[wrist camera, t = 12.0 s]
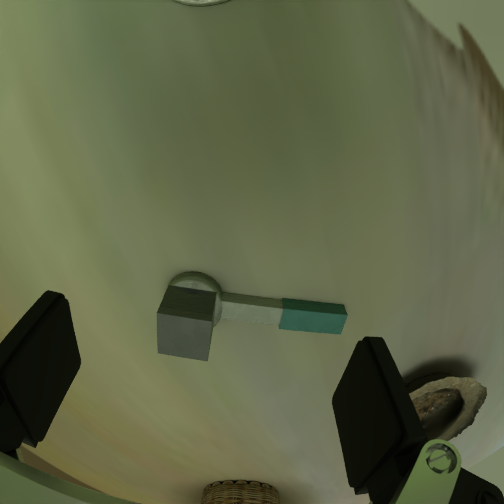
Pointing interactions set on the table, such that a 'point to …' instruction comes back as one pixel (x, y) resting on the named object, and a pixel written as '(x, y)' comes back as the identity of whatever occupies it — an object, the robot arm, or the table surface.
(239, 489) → the wicker basket
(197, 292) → the brushed grey cube
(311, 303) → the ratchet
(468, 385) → the stone bowl
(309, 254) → the table surface
